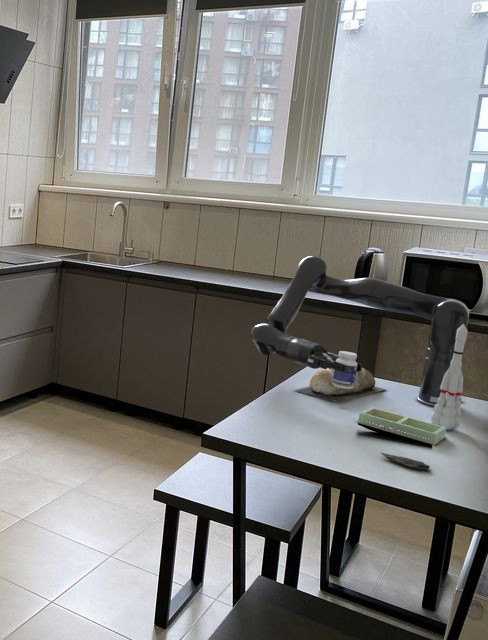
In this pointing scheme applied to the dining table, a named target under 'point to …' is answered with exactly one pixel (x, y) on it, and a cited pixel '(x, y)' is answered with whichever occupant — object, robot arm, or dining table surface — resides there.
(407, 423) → the holder
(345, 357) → the pill bottle
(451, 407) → the rocket model
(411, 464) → the arrowhead
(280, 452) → the dining table surface
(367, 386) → the bread loaf
